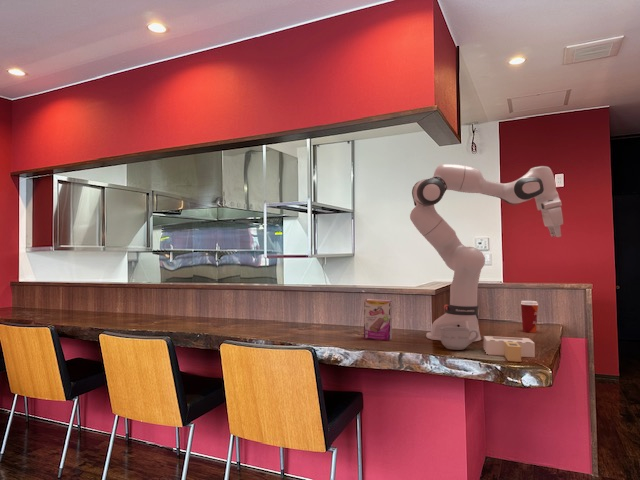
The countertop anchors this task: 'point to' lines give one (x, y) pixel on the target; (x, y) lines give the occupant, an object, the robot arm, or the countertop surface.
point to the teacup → (457, 337)
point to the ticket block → (498, 345)
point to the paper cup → (529, 315)
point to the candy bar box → (378, 319)
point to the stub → (513, 351)
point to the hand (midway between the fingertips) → (556, 236)
